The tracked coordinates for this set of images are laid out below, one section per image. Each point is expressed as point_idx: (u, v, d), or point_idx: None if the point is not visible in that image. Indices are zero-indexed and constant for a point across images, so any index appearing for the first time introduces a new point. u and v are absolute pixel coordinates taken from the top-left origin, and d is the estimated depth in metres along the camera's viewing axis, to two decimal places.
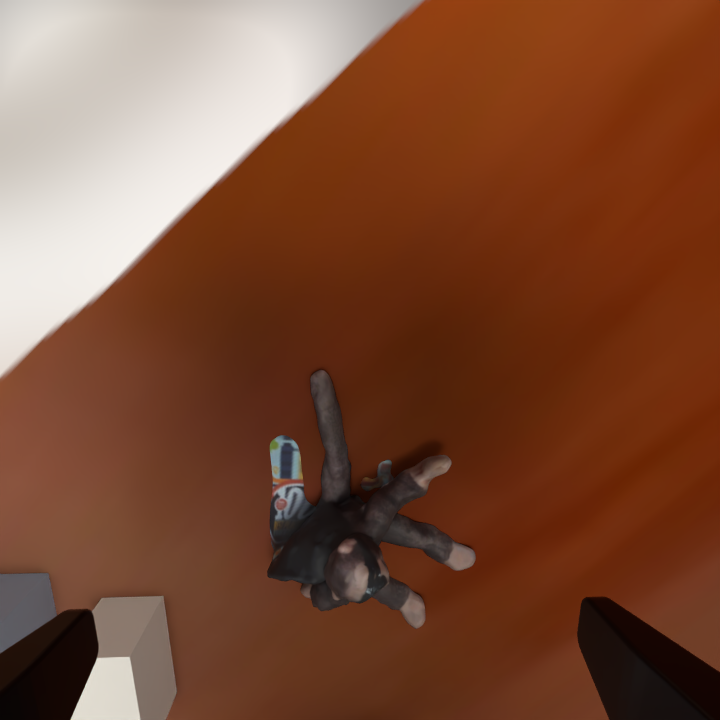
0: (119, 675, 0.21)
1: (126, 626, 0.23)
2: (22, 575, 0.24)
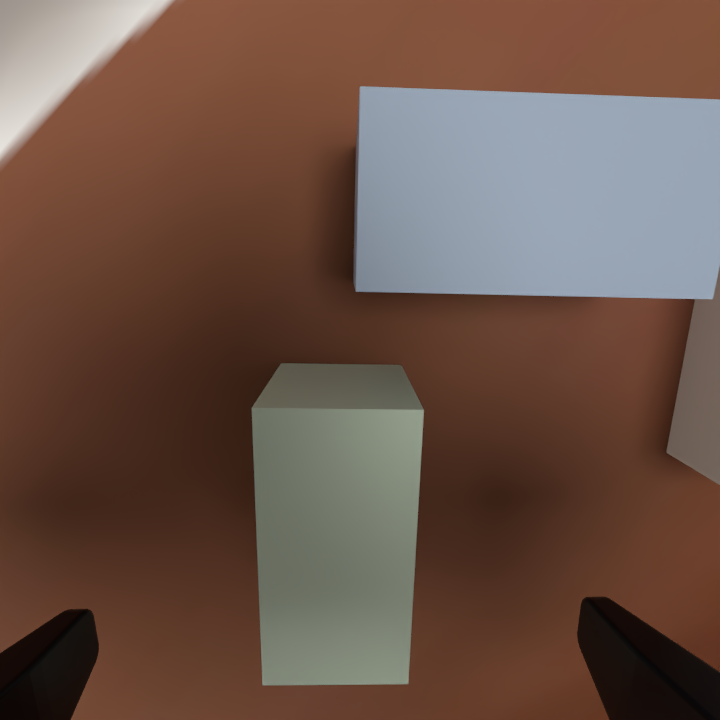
0: None
1: None
2: None
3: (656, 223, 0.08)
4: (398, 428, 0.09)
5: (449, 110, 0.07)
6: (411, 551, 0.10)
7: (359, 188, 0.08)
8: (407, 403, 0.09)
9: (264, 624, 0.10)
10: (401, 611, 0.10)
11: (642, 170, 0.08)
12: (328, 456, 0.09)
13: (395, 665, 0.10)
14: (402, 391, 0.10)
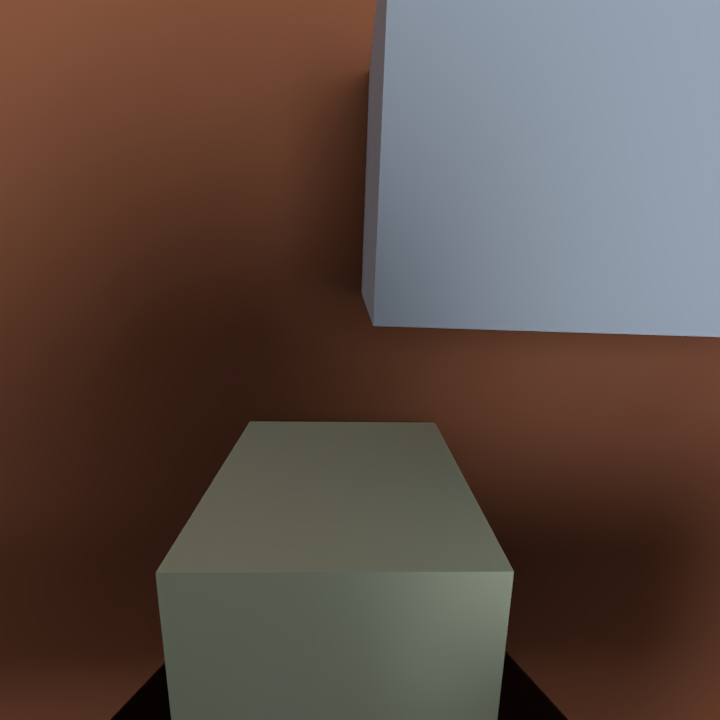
0: None
1: None
2: None
3: None
4: (460, 607, 0.04)
5: None
6: None
7: (386, 94, 0.03)
8: (474, 546, 0.05)
9: None
10: None
11: None
12: (317, 661, 0.04)
13: None
14: (455, 504, 0.05)
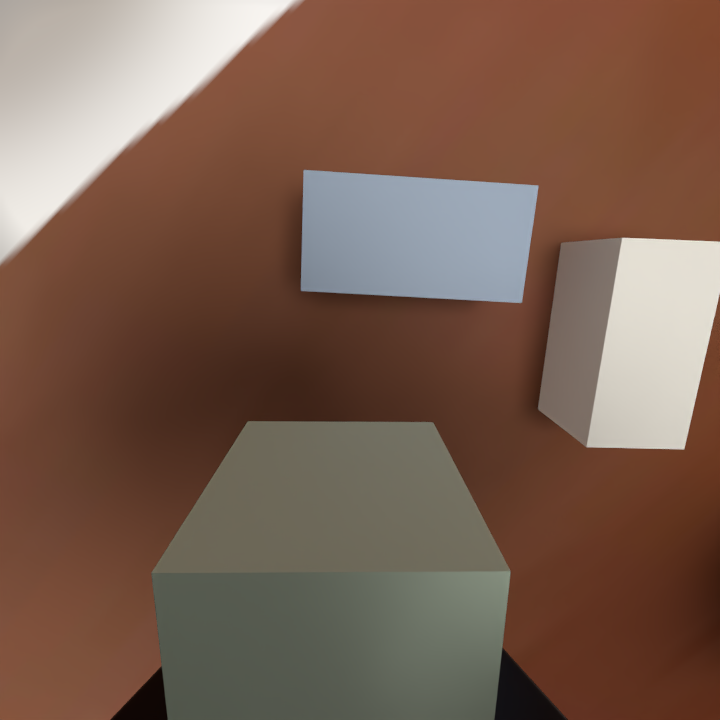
0: (702, 277, 0.14)
1: None
2: None
3: (484, 255, 0.13)
4: (457, 607, 0.04)
5: (356, 185, 0.13)
6: None
7: (303, 229, 0.13)
8: (472, 546, 0.05)
9: None
10: None
11: (473, 224, 0.13)
12: (314, 660, 0.04)
13: None
14: (452, 503, 0.05)
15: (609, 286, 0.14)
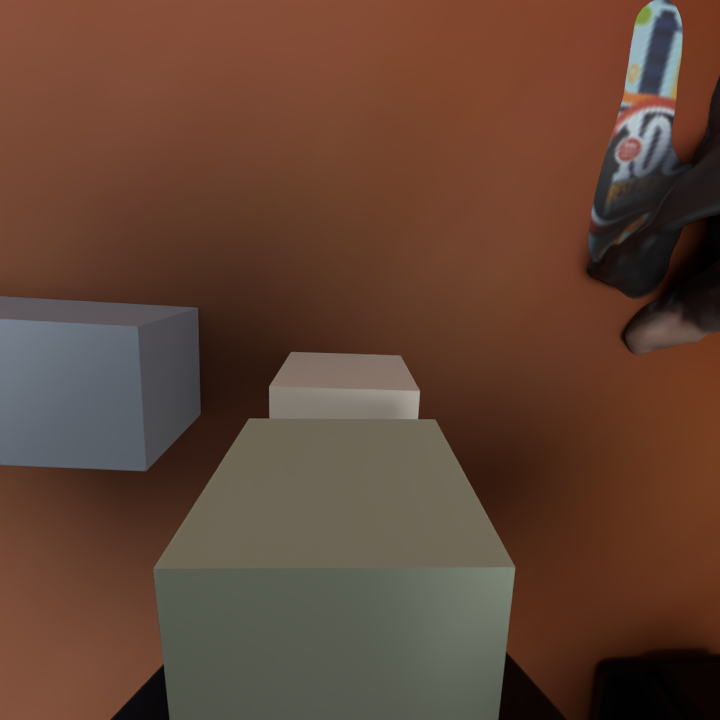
0: None
1: (369, 370, 0.12)
2: (152, 305, 0.13)
3: (81, 413, 0.10)
4: (462, 604, 0.04)
5: None
6: None
7: None
8: (475, 542, 0.05)
9: None
10: None
11: (59, 375, 0.10)
12: (316, 658, 0.04)
13: None
14: (456, 500, 0.05)
15: None
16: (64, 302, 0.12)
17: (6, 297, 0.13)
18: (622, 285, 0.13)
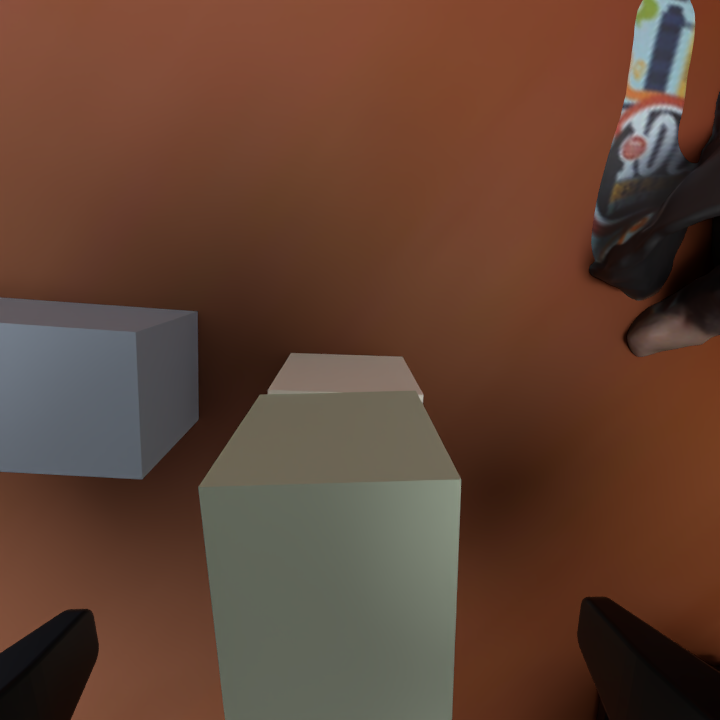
0: None
1: (371, 372, 0.11)
2: (151, 308, 0.13)
3: (77, 420, 0.10)
4: (423, 508, 0.06)
5: None
6: (446, 677, 0.07)
7: None
8: (435, 466, 0.06)
9: None
10: None
11: (54, 380, 0.09)
12: (318, 552, 0.06)
13: None
14: (424, 442, 0.07)
15: None
16: (61, 304, 0.12)
17: (2, 298, 0.12)
18: (624, 286, 0.13)
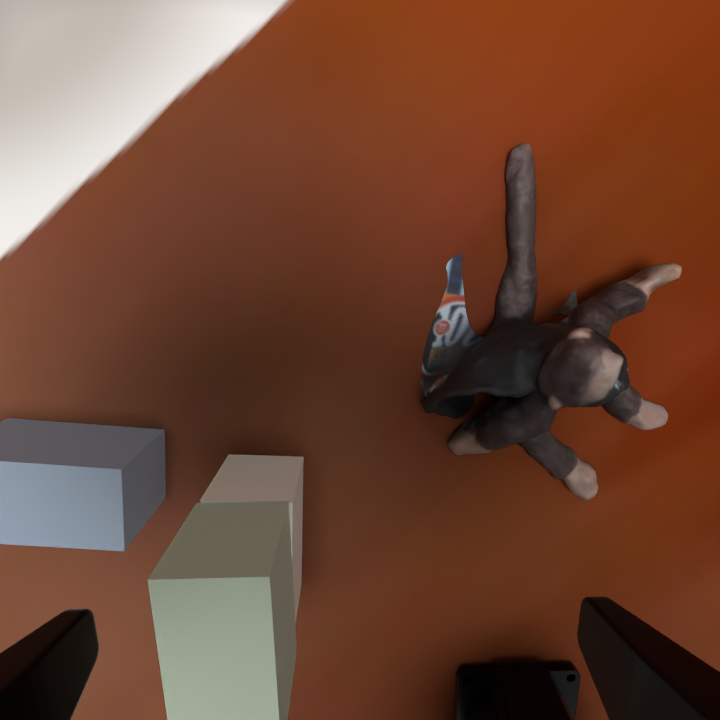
0: None
1: (272, 478, 0.18)
2: (134, 428, 0.19)
3: (86, 517, 0.16)
4: (253, 589, 0.12)
5: None
6: (273, 669, 0.13)
7: None
8: (262, 568, 0.13)
9: None
10: (270, 710, 0.13)
11: (73, 495, 0.16)
12: (205, 608, 0.13)
13: None
14: (267, 549, 0.14)
15: None
16: (75, 428, 0.19)
17: (36, 422, 0.19)
18: (439, 414, 0.19)
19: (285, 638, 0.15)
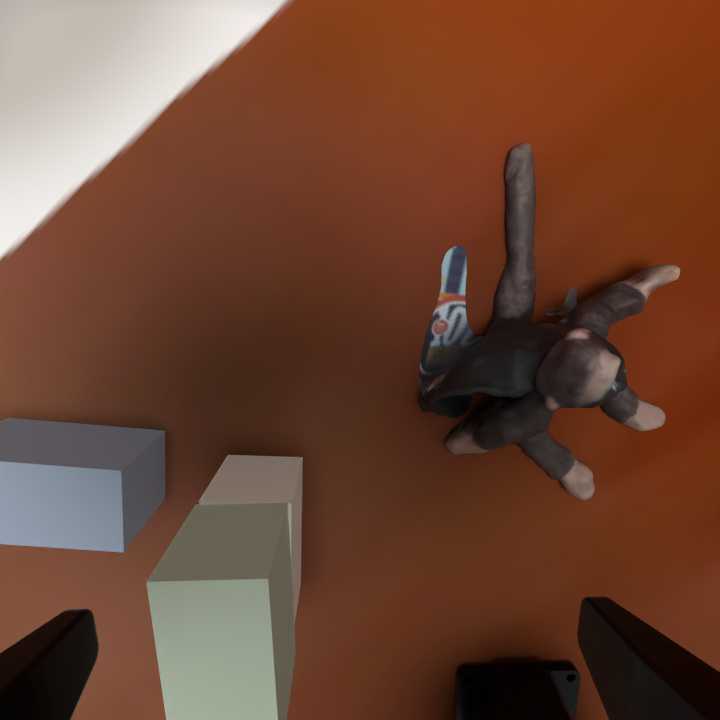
0: None
1: (271, 479, 0.18)
2: (134, 429, 0.19)
3: (85, 518, 0.16)
4: (251, 591, 0.12)
5: None
6: (271, 670, 0.13)
7: None
8: (261, 570, 0.13)
9: None
10: (269, 711, 0.13)
11: (73, 496, 0.16)
12: (204, 611, 0.13)
13: None
14: (266, 551, 0.14)
15: None
16: (75, 428, 0.19)
17: (36, 422, 0.19)
18: (437, 413, 0.19)
19: (284, 639, 0.15)
